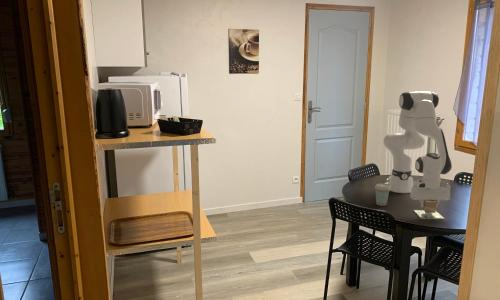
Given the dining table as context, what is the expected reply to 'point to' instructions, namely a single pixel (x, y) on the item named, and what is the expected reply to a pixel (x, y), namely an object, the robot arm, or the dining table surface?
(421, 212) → the post
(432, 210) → the wood grain block
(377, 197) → the coffee cup
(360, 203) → the dining table surface
